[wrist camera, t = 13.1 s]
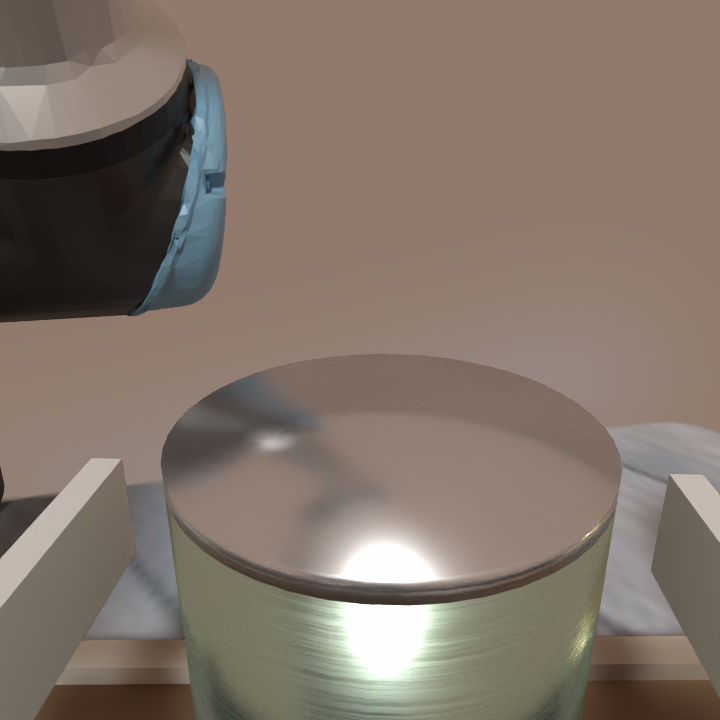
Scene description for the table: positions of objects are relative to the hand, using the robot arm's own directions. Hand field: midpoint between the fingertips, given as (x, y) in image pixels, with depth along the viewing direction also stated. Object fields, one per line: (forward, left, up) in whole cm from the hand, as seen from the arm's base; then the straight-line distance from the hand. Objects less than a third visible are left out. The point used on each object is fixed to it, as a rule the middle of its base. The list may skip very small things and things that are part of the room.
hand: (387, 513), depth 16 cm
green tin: (+3, -1, -8) cm, 9 cm away
